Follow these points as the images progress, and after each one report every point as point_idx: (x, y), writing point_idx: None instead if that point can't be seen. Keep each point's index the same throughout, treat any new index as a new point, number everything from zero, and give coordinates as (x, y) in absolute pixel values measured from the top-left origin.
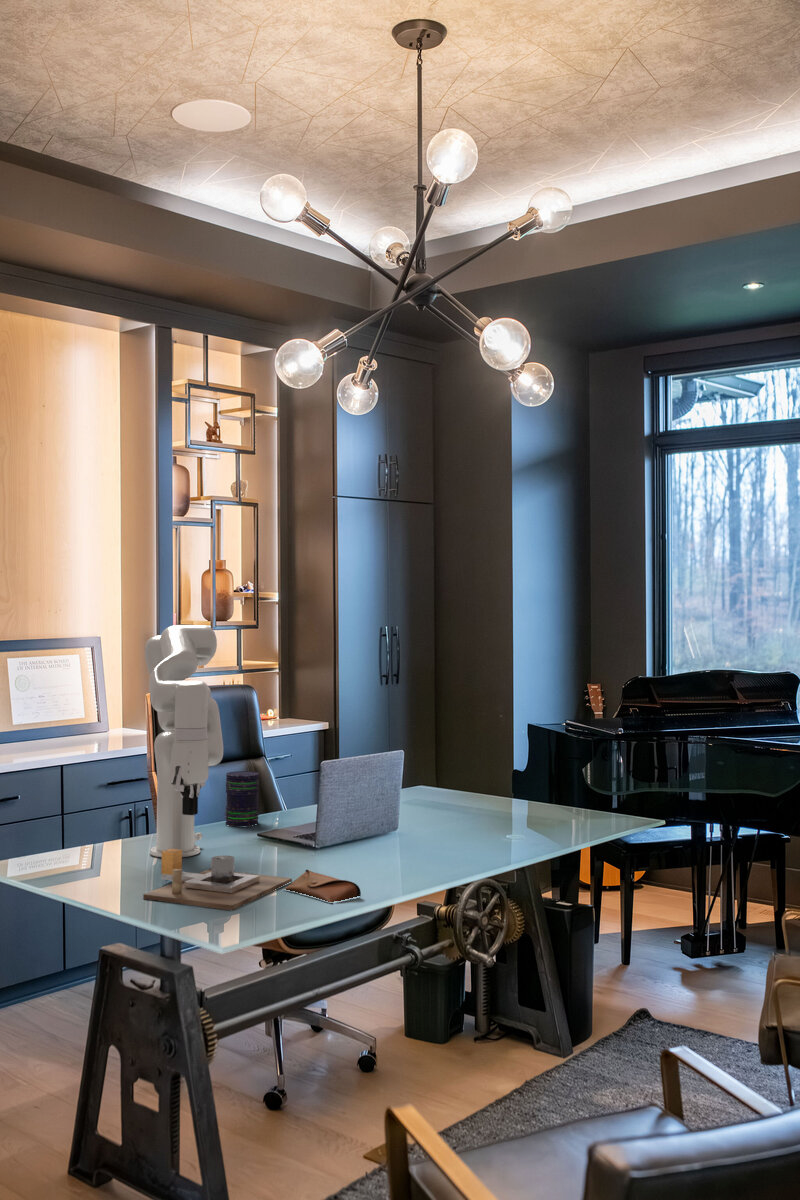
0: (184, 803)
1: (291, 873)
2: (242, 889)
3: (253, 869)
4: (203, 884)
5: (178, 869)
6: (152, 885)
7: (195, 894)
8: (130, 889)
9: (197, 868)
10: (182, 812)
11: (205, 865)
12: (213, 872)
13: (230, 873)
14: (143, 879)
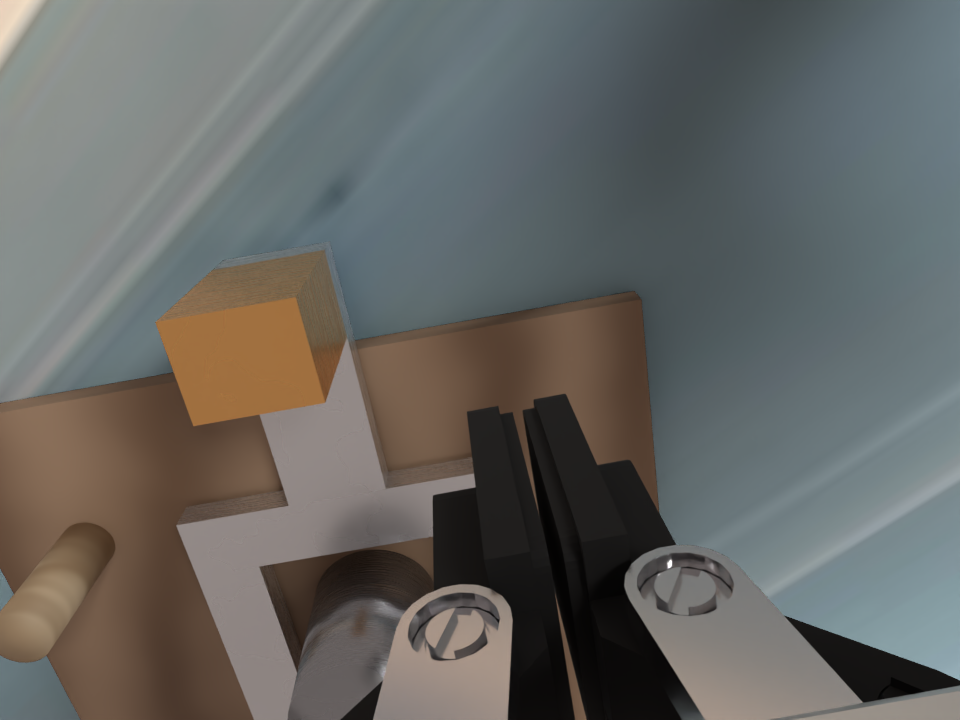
0: (439, 569)
1: (838, 620)
2: None
3: (841, 426)
4: (217, 627)
5: (34, 636)
6: (179, 220)
7: (144, 624)
8: (8, 180)
9: (712, 120)
10: (468, 417)
11: (816, 101)
12: (302, 650)
13: None
14: (245, 34)
